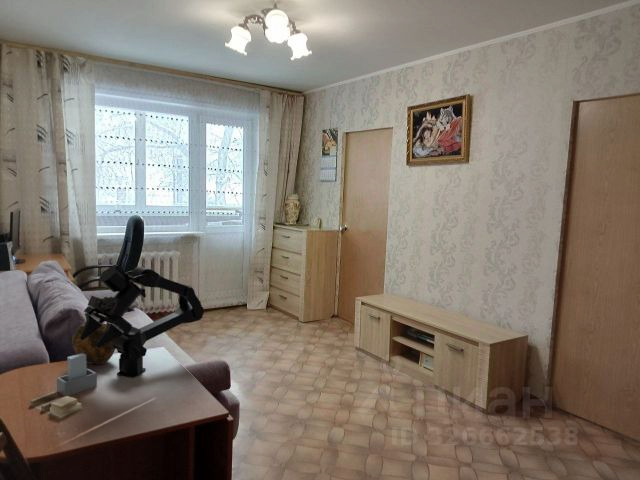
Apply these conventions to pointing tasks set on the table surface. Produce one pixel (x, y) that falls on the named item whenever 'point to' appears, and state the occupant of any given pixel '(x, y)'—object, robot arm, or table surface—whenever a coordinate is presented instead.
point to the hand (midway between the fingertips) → (88, 343)
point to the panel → (76, 366)
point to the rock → (93, 345)
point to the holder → (76, 383)
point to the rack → (56, 405)
